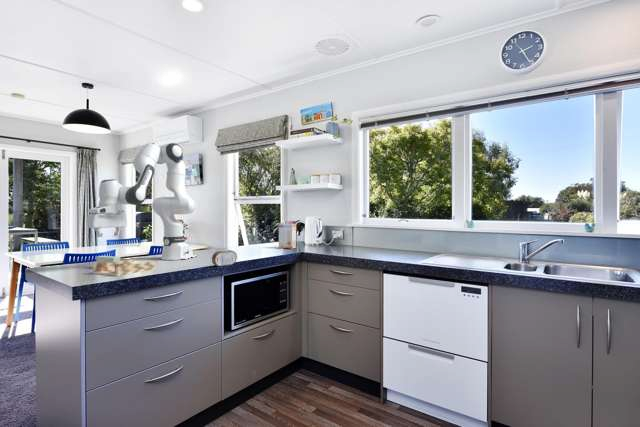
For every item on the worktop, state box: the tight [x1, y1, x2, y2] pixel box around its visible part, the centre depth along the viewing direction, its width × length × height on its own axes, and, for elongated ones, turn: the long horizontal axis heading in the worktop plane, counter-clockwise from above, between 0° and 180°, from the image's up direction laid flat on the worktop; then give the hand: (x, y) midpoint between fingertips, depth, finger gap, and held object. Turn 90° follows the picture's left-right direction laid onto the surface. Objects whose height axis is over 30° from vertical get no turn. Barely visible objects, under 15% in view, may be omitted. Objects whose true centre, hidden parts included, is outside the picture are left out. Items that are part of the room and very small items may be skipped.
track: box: [92, 259, 156, 277], centre depth 170 cm, size 22×16×5 cm
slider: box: [95, 255, 121, 265], centre depth 179 cm, size 4×12×6 cm, turn 71°
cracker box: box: [278, 222, 297, 249], centre depth 281 cm, size 14×6×21 cm, turn 58°
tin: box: [211, 249, 238, 267], centre depth 191 cm, size 15×3×8 cm, turn 141°
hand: (108, 236), depth 179 cm, fingers open, 8 cm apart
